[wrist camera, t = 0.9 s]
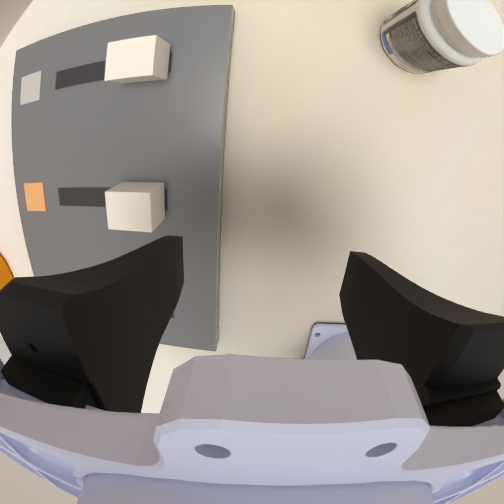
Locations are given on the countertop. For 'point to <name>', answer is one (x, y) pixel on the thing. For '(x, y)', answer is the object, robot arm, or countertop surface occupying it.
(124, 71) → the block
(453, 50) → the pill bottle
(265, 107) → the countertop surface
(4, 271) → the beer bottle
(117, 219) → the middle tab
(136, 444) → the robot arm
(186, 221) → the switch board
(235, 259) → the countertop surface
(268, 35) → the countertop surface
